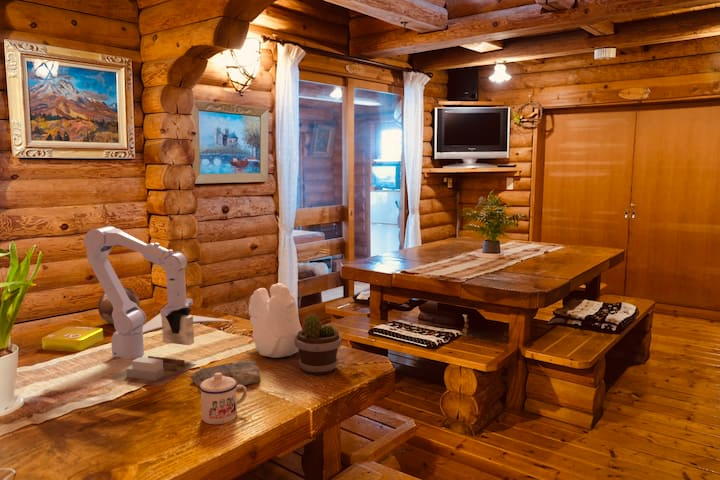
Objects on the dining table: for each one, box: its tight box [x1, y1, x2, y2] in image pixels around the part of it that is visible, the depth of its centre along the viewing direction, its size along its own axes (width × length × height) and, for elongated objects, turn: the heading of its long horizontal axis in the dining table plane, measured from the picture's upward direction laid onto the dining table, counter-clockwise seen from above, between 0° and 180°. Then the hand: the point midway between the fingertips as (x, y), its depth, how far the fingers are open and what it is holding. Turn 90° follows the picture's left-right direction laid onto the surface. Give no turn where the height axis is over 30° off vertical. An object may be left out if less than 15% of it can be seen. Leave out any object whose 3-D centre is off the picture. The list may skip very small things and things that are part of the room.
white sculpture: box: [248, 282, 303, 358], centre depth 191 cm, size 25×16×25 cm, turn 31°
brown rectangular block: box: [161, 315, 195, 346], centre depth 183 cm, size 10×2×9 cm, turn 73°
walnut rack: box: [108, 355, 197, 387], centre depth 172 cm, size 18×18×3 cm
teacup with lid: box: [199, 373, 248, 425], centre depth 144 cm, size 12×9×12 cm
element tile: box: [41, 326, 104, 353], centre depth 201 cm, size 15×15×5 cm
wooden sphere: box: [97, 286, 141, 326], centre depth 223 cm, size 15×15×15 cm
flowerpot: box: [294, 310, 343, 376], centre depth 175 cm, size 14×15×20 cm
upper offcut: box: [131, 356, 163, 372], centre depth 168 cm, size 8×4×2 cm, turn 73°
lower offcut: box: [125, 365, 164, 381], centre depth 168 cm, size 10×4×2 cm, turn 73°
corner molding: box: [143, 312, 233, 334], centre depth 217 cm, size 30×2×30 cm
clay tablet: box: [189, 360, 261, 388], centre depth 167 cm, size 14×5×20 cm
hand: (178, 331), depth 183 cm, fingers closed on brown rectangular block, 2 cm apart
